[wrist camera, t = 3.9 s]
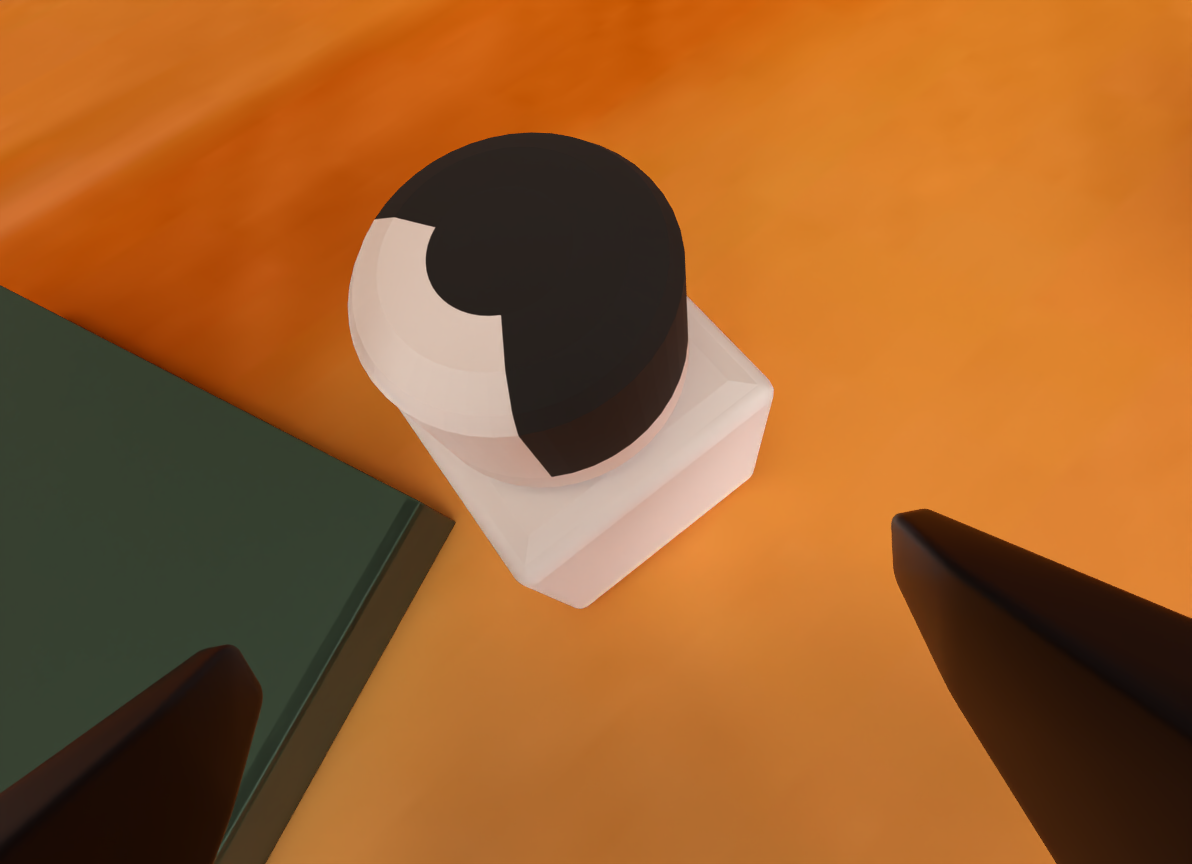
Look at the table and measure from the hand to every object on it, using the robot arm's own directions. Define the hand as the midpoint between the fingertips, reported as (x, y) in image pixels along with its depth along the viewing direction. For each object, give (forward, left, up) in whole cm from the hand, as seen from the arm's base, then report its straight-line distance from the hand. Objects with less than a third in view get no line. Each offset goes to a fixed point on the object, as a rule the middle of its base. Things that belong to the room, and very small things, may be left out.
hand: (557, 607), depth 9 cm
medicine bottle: (+4, -5, -12) cm, 13 cm away
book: (+17, +7, -12) cm, 22 cm away
